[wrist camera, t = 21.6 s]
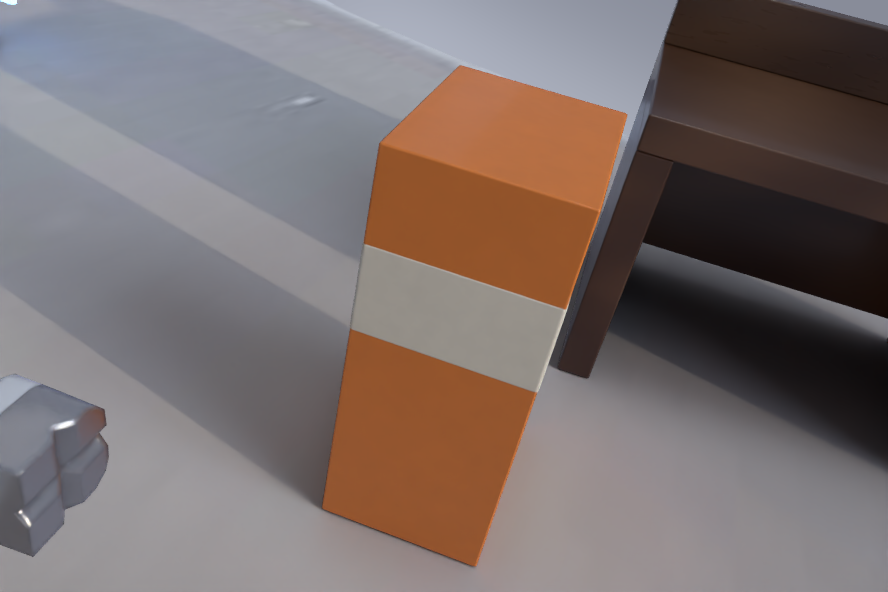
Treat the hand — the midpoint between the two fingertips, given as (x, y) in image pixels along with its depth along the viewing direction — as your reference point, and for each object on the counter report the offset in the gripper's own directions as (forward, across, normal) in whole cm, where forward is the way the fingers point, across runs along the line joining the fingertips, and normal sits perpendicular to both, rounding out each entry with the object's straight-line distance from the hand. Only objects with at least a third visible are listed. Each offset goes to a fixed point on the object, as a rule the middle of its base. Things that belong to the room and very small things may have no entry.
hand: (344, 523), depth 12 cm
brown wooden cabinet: (+21, -10, +8) cm, 24 cm away
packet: (+9, 0, +8) cm, 12 cm away
